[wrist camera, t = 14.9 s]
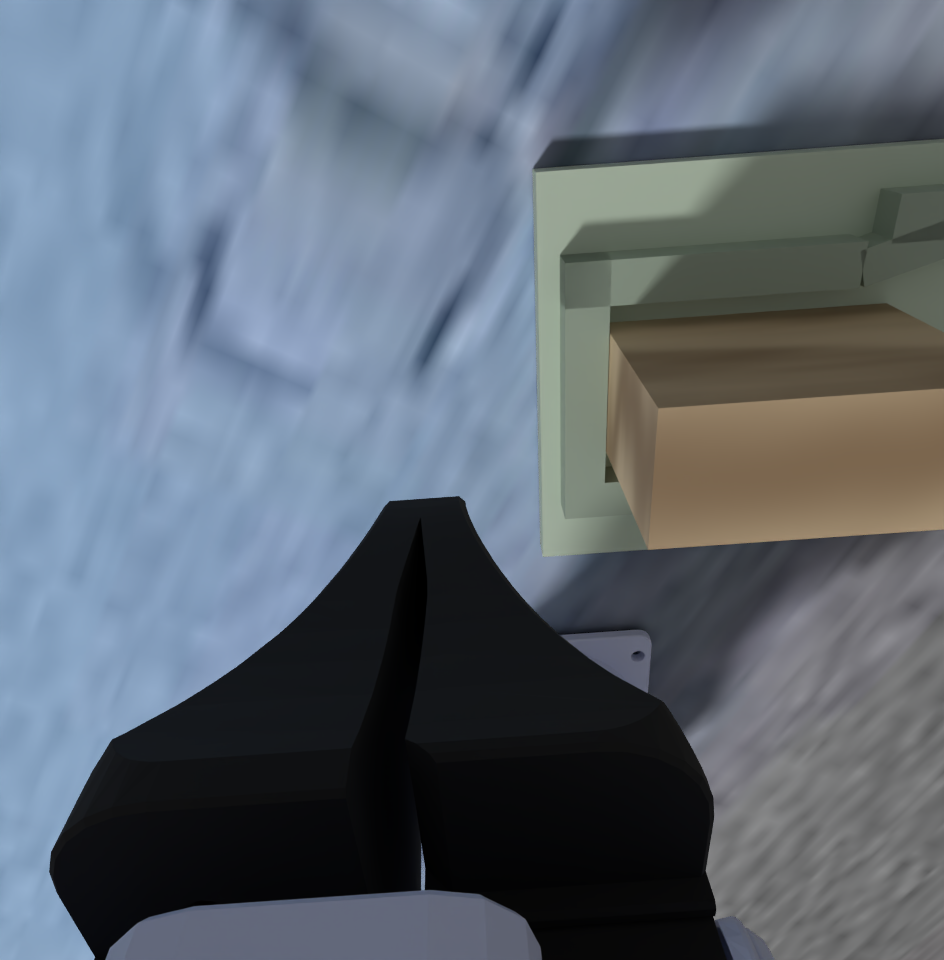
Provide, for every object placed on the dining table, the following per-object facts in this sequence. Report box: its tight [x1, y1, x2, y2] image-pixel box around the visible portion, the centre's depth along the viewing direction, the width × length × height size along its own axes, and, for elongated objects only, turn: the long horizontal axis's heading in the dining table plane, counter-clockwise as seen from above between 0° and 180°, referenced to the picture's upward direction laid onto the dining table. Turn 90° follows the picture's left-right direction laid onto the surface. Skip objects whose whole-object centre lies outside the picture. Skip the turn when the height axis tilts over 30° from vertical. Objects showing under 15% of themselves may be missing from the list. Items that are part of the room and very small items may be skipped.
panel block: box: [606, 303, 944, 550], centre depth 18 cm, size 4×8×6 cm, turn 94°
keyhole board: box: [533, 139, 944, 557], centre depth 21 cm, size 12×19×2 cm, turn 94°
